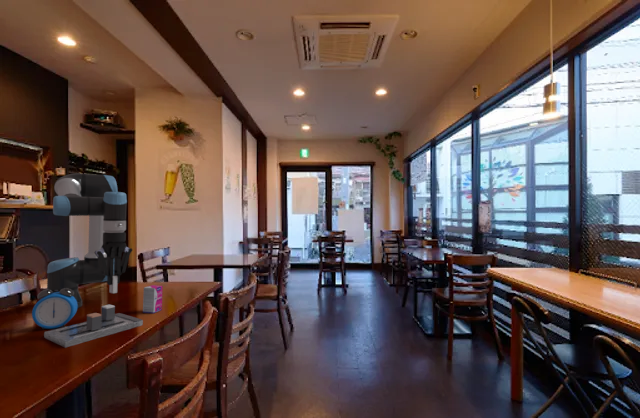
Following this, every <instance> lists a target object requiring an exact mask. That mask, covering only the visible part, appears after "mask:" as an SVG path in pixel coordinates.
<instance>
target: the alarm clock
mask: <svg viewBox="0 0 640 418" xmlns="http://www.w3.org/2000/svg"><path fill="white" fill-rule="evenodd" d="M54 291H58V290H54ZM52 292H53V291H52V290H50V289H47V288H46V289H41V291H40V292H39V293H38V294H37V299H38V300H37V302H36V303H35V304H34V306H33V308H32V311H31V316H32V317H31V318H32V321H34V323H35V324H36V325H37V326H38V327H41V328H42V329H41V330H44V329H47V330H48V329H49V330H55V329H59V328H63V327H66V326H65V325H66V324H68V323H69V322H70V321H71V320H72V319H73V318H74V316H75V315H76V314H77V311H78V309H79V308H78V304H77V301H76V299H75V298H74V297H73V295H74V291H73V290H72V289H70V288H63V289H61V290H60V291H59V292H54V293H52ZM50 293H51V294H50ZM48 294H49V295H48Z"/></svg>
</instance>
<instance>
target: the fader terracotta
mask: <svg viewBox="0 0 640 418" xmlns="http://www.w3.org/2000/svg"><path fill="white" fill-rule="evenodd" d="M101 316H102V313H97V312H93V313H88V314H86V322H87V329H89V330H91V331H93V330H97V329H101Z"/></svg>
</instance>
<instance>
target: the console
mask: <svg viewBox="0 0 640 418" xmlns="http://www.w3.org/2000/svg"><path fill="white" fill-rule="evenodd" d="M143 323H144V320H143V319H141V318H138V317H135V316H132V315H129V314H128V315H127V314H124V313H122V312H121V313H120V312H118V313H115V319H111V320H107V321H106V320H103V319H101V329H97V330H93V331H91V330H89V329H87V321H84V322H83V321H82V322H80V323H76V324H72V325H68V326H65V327H63V326H62V327H58V328H54V329H50V330H48V331H44V333H43V336H44V337H43V338H45V339H46V340H48V341H51V342H53V343H54V344H57V345H59V346H61V347H62V348H65V349H66V348H68V347H72V346H76V345H79V344H82V343H85V342H89V341H93V340H97V339H99V338H103V337H106V336H110V335H114V334H118V333H121V332H124V331H127V330H131V329H134V328H138V327H141V326H143V325H144V324H143Z"/></svg>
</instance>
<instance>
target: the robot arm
mask: <svg viewBox="0 0 640 418" xmlns="http://www.w3.org/2000/svg"><path fill="white" fill-rule="evenodd" d="M117 184H118V183H117V181H116V178H115V177H114V176H113V175H107V174H97V173H96V174H95V173H80V172H77V173H76V172H74V173H70V174H65V175H63V176H61V177H59V178H58V179H57V180H56V181H55V183H54V187H53V188H54V192H55V193H56V195H55V196H54V197H53V199H52V201H53V202H52V213H53V215H54V216H63V217H69V216H70V217H71V216H72V217H73V216H75V217H77V216H80V217H81V216H82V217H85V216H86V217H87V216H88V243H87V244H88V249H87V250H88V251H87V253H86V254H84V256H83V259H80V258H79V257H67V258H61V259H56V260H54V261H50V262H49V263H48V265H47V271H46V273H47V277H46V278H47V281H46V289H50V290H52V291H53V292H52V293H54V292H59V291H60V290H61V289H63V288H70V289H72V290H73V291H74V295H73V297H74V298H75V299H76V301H77V304H78V308H77V309H79V308H81V307H83V299H82V297H81V294H80V290H79V285H83V284H84V285H85V284H94V283H102V282H103V283H104V282H107V285H108V286H109V292H108V293H110V294H117V293H118V284H120V281H121V280H120V277H121V276H122V274H125V273H126V270H127V267H128V264H129V263H128V262H129V259H130V255H131V253H132V252H133V248H130V247H128V246H127V243H126V240H127V239H126V238H127V233H126V232H125V231H126V230H127V203H128V200H127V194H126V193H125V192H121V191H118V185H117ZM122 254H123V255H122ZM54 290H58V291H54ZM50 294H51V293H50ZM48 295H49V294H48Z"/></svg>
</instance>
